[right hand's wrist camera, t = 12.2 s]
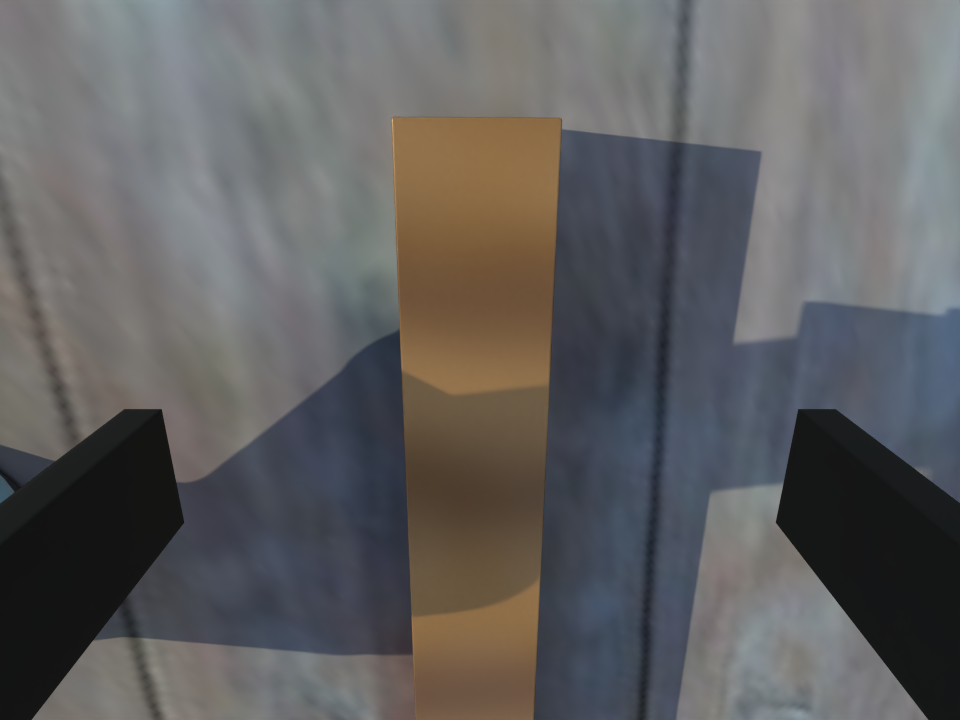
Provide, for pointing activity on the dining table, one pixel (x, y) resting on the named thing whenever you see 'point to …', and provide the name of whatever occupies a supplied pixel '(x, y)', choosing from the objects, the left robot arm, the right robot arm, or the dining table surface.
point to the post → (475, 400)
